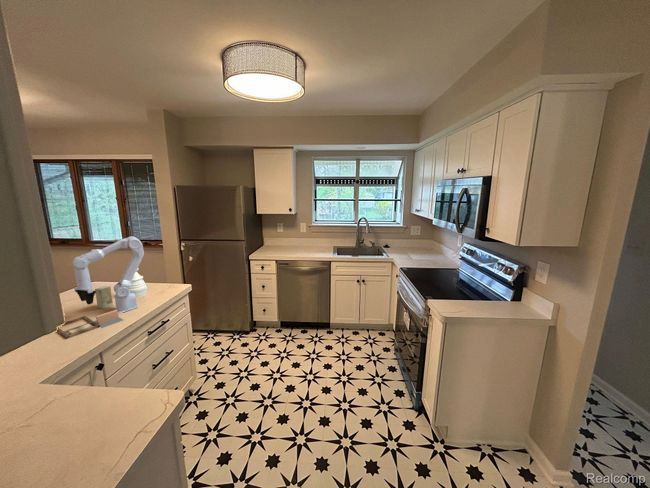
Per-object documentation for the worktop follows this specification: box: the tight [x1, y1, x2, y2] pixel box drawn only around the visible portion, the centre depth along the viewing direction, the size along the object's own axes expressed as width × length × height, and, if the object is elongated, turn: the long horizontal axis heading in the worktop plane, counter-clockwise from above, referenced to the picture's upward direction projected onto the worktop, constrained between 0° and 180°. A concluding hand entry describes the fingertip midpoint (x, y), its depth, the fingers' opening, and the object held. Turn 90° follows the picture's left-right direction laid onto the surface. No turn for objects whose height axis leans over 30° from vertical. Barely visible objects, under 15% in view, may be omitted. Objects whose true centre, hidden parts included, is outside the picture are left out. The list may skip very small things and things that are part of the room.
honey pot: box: [129, 267, 148, 299], centre depth 177 cm, size 13×13×18 cm
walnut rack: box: [56, 315, 101, 340], centre depth 136 cm, size 13×19×2 cm
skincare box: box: [94, 285, 114, 310], centre depth 159 cm, size 6×4×12 cm
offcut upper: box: [68, 323, 93, 335], centre depth 133 cm, size 8×4×1 cm, turn 155°
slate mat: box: [93, 317, 124, 329], centre depth 143 cm, size 10×12×1 cm
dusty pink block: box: [95, 309, 120, 325], centre depth 143 cm, size 9×2×4 cm, turn 150°
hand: (87, 302), depth 145 cm, fingers open, 7 cm apart
